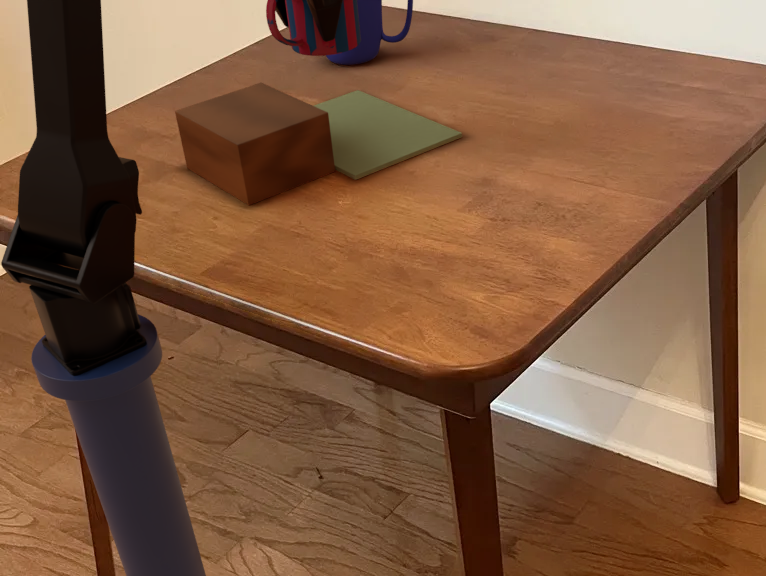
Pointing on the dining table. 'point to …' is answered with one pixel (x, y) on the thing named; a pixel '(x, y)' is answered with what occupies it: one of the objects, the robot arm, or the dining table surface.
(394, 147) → the mat
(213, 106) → the step
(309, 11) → the cup
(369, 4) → the mug
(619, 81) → the dining table surface
